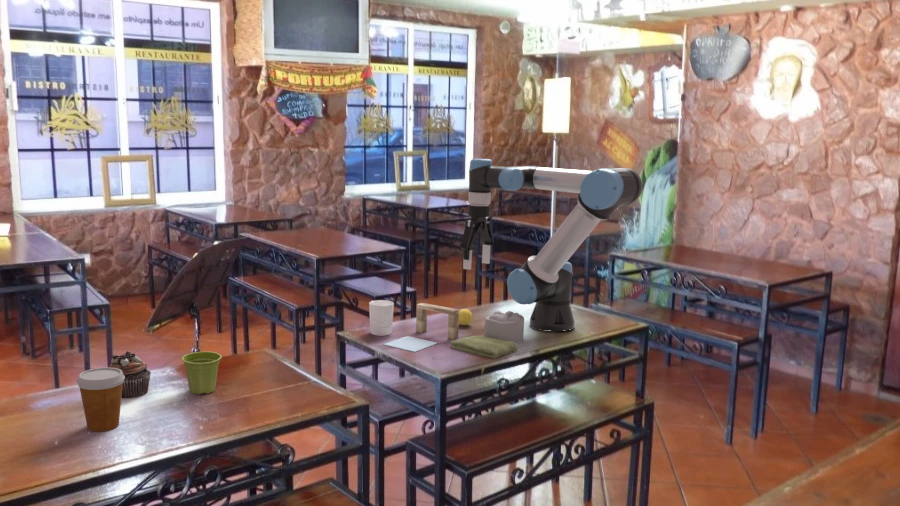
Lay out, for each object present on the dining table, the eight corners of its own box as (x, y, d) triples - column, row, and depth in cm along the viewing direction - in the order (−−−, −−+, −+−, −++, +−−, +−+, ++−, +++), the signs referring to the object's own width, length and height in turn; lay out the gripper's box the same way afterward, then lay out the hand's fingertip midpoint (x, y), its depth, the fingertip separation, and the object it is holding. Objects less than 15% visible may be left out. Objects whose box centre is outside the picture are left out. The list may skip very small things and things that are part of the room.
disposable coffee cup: (88, 418, 175) (86, 366, 173) (132, 418, 175) (130, 366, 173) (72, 435, 165) (69, 380, 163) (118, 434, 166) (116, 380, 164)
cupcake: (132, 402, 185) (130, 361, 183) (100, 396, 188) (98, 356, 187) (160, 389, 194) (158, 351, 192) (128, 384, 197) (127, 346, 196)
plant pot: (229, 387, 197) (229, 354, 196) (206, 399, 188) (206, 364, 187) (198, 382, 200) (197, 349, 199) (174, 393, 191) (173, 359, 190)
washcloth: (473, 340, 248) (473, 331, 247) (519, 352, 237) (520, 342, 237) (447, 349, 238) (447, 339, 237) (494, 361, 227) (495, 351, 226)
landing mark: (437, 343, 242) (437, 342, 242) (414, 352, 232) (414, 351, 232) (407, 336, 248) (407, 336, 248) (383, 344, 238) (383, 344, 238)
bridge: (421, 329, 257) (422, 302, 255) (458, 337, 249) (459, 309, 247) (416, 331, 254) (416, 304, 253) (452, 339, 246) (453, 311, 245)
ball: (475, 324, 265) (475, 309, 264) (466, 328, 261) (467, 312, 260) (461, 322, 268) (462, 306, 267) (452, 325, 264) (453, 309, 263)
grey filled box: (479, 339, 248) (480, 313, 246) (507, 332, 257) (508, 307, 255) (504, 347, 241) (505, 319, 239) (531, 339, 250) (532, 313, 248)
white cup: (395, 330, 255) (395, 300, 253) (391, 337, 247) (391, 306, 246) (371, 329, 256) (371, 299, 254) (366, 335, 248) (366, 305, 246)
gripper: (486, 201, 277) (483, 259, 281) (451, 206, 256) (449, 270, 259) (505, 202, 273) (502, 262, 277) (471, 208, 252) (468, 273, 256)
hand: (476, 266), depth 268 cm, fingers open, 13 cm apart
